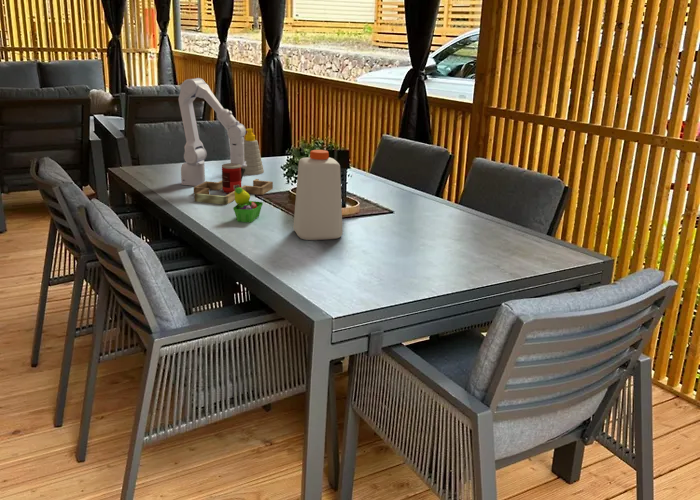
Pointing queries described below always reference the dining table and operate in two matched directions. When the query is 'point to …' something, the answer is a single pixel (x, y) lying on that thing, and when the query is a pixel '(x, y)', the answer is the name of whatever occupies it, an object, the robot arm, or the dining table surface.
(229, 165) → the canned food
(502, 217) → the dining table surface
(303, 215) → the plastic bottle
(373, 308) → the dining table surface
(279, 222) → the dining table surface
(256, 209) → the fruit basket
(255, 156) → the soap bottle
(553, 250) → the dining table surface
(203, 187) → the trap channel
